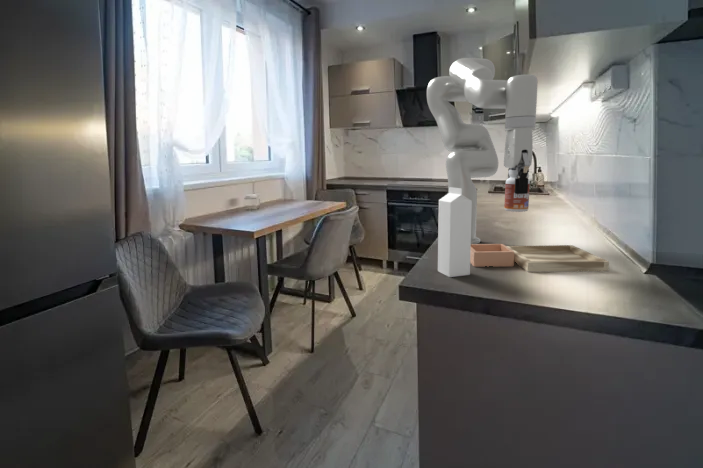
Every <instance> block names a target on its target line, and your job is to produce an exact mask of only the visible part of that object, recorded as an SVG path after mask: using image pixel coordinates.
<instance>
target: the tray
mask: <svg viewBox="0 0 703 468" xmlns="http://www.w3.org/2000/svg"><path fill="white" fill-rule="evenodd" d="M506 246H507V247H508V248H509V249H511V250H512V251H514V263H515V262H516V263H517V264H516V263H515V264H516V265H518V266H519V265H520V266H521V267H520V266H519V267H520V268H522V269H523V268H524V269H525V271H526V272H527V273H545V272H546V273H548V272H549V273H554V272H555V273H556V272H557V273H561V272H563V273H564V272H566V273H567V272H569V273H570V272H572V273H573V272H577V273H578V272H582V273H583V272H609V270H610V269H609V267H610V261H609V260H606V259H604V258H602V257H599V256H597V255H595V254H593V253H591V252H590V251H589V252H588V251H586V250H584V249H583V248H579V247H578V246H576V245H573V244H572V245H571V244H569V245H567V244H564V245H559V244H557V245H554V244H553V245H550V244H549V245H506ZM524 269H523V270H524Z"/></svg>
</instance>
